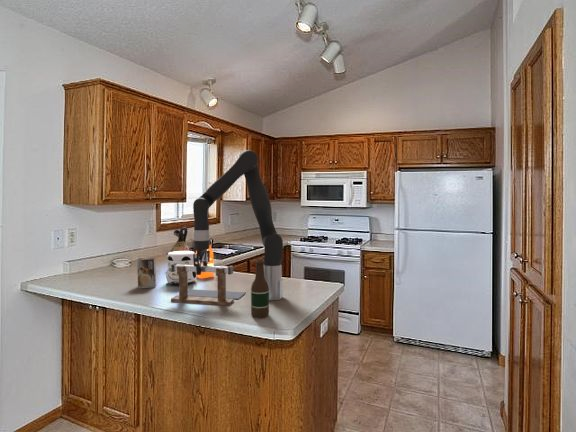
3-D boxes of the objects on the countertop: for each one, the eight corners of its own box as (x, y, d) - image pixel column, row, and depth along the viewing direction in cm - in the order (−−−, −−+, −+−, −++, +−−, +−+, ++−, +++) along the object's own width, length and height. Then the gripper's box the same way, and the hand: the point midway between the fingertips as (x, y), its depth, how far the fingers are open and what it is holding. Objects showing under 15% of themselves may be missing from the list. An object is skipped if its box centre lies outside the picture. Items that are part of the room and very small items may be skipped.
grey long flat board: (245, 293, 194) (245, 292, 194) (238, 299, 183) (238, 298, 183) (189, 290, 201) (189, 289, 201) (179, 296, 189) (179, 295, 189)
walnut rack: (233, 301, 179) (233, 266, 178) (229, 305, 173) (229, 268, 172) (177, 298, 185) (176, 263, 184) (170, 301, 179) (170, 266, 178)
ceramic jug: (182, 274, 241) (182, 228, 239) (163, 272, 246) (162, 227, 244) (197, 269, 256) (197, 226, 255) (179, 267, 262) (179, 225, 260)
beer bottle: (252, 312, 163) (252, 258, 162) (270, 313, 162) (270, 259, 161) (249, 318, 155) (249, 262, 154) (267, 318, 155) (267, 262, 153)
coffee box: (156, 284, 212) (156, 257, 211) (154, 287, 206) (154, 259, 205) (139, 285, 210) (139, 257, 209) (137, 288, 204) (136, 259, 203)
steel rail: (233, 273, 177) (233, 265, 177) (230, 274, 173) (230, 267, 173) (175, 270, 183) (174, 263, 183) (171, 271, 179) (171, 264, 179)
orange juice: (195, 276, 234) (194, 245, 233) (207, 274, 240) (207, 244, 239) (201, 278, 228) (201, 246, 227) (213, 276, 234) (213, 245, 233)
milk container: (170, 288, 205) (170, 256, 204) (163, 281, 219) (162, 252, 218) (200, 284, 214) (200, 253, 213) (191, 278, 229) (191, 249, 228)
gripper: (202, 241, 169) (203, 276, 170) (214, 237, 183) (215, 270, 184) (187, 240, 171) (188, 276, 172) (200, 237, 185) (201, 269, 186)
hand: (202, 273), depth 178 cm, fingers open, 6 cm apart
